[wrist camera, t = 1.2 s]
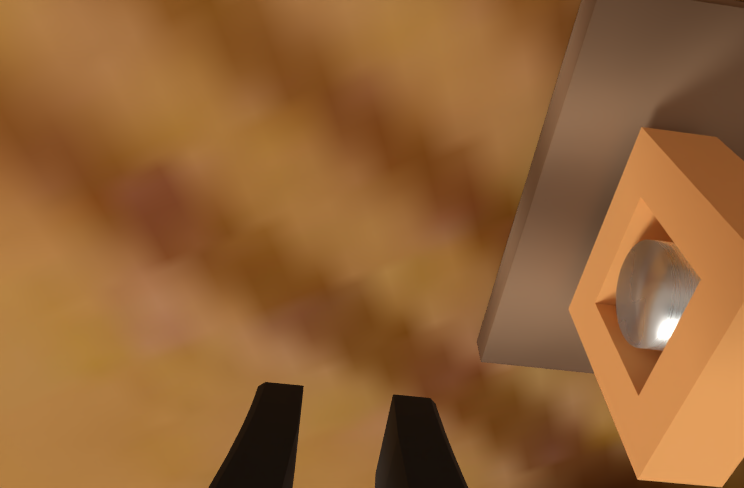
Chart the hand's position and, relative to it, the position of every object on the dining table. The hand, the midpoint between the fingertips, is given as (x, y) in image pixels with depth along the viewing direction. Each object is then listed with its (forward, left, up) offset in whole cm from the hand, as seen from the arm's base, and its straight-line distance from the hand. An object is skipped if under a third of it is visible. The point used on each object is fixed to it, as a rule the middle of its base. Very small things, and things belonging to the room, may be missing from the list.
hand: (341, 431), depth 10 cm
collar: (0, -8, -8) cm, 11 cm away
